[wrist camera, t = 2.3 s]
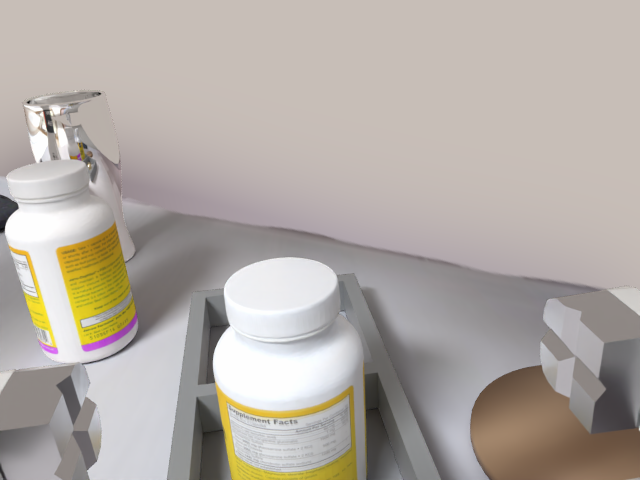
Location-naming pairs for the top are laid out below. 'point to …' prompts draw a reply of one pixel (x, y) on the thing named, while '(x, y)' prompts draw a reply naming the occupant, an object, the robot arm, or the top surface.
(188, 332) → the parts tray
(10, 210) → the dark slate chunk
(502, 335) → the top surface
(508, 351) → the top surface
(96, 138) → the shiny silver flared piece
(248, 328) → the pill bottle
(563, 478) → the walnut coaster
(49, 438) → the robot arm
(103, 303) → the supplement bottle
